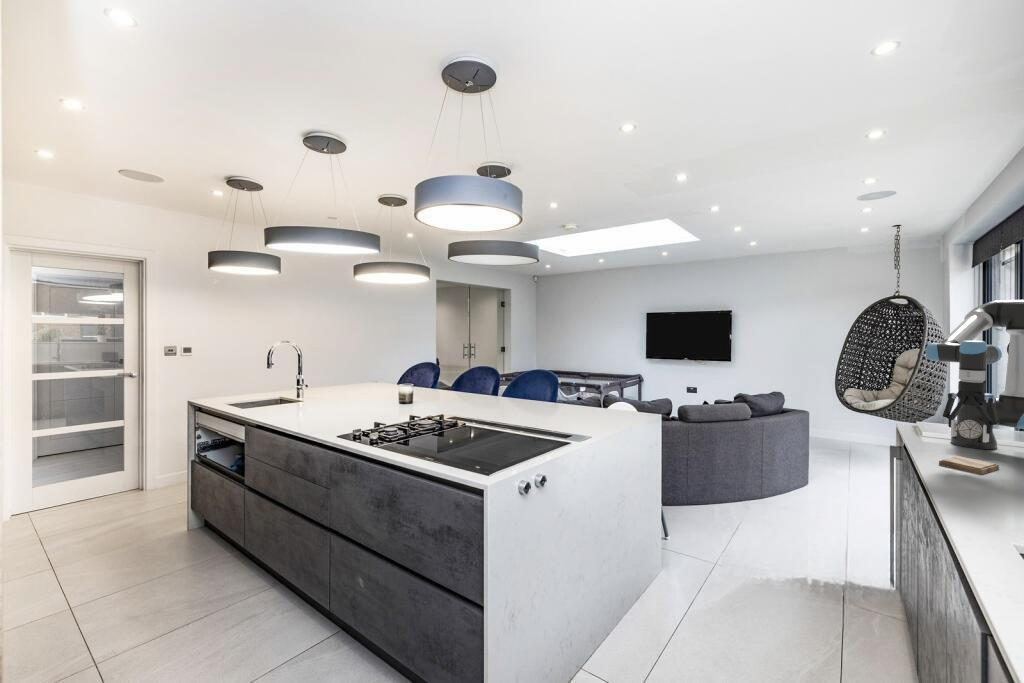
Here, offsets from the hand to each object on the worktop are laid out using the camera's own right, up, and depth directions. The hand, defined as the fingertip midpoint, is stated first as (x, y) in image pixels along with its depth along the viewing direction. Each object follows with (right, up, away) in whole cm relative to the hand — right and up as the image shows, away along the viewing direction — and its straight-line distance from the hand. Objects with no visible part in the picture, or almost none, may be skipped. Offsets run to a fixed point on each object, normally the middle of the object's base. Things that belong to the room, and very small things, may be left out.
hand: (969, 439), depth 191 cm
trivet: (0, -11, +1) cm, 11 cm away
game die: (0, 0, 0) cm, 0 cm away
